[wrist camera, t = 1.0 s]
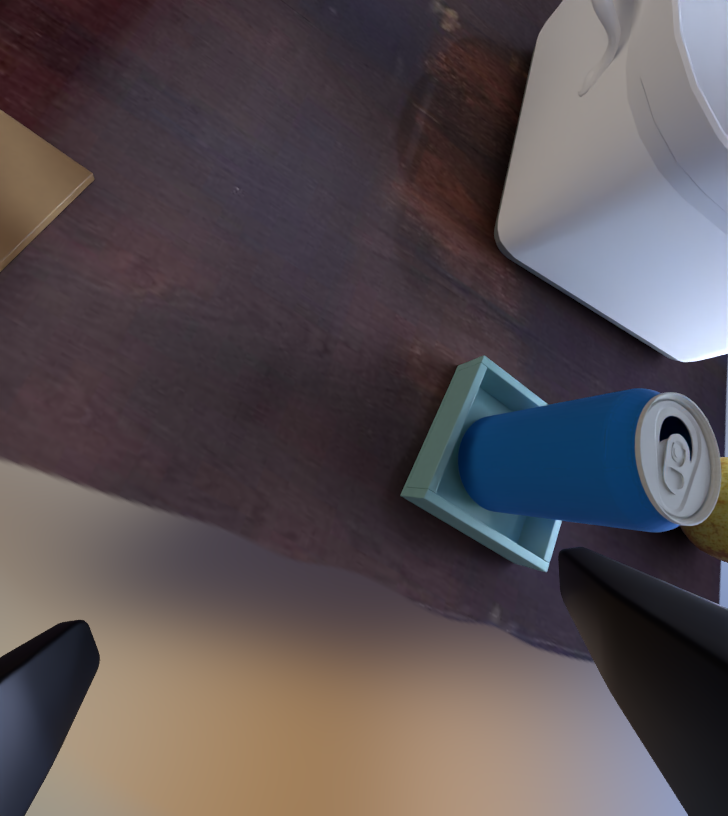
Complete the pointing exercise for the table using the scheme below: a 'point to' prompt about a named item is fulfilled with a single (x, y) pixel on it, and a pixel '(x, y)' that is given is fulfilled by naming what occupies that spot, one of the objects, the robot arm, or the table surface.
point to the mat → (32, 186)
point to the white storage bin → (628, 168)
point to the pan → (439, 477)
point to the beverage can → (597, 461)
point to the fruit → (714, 523)
